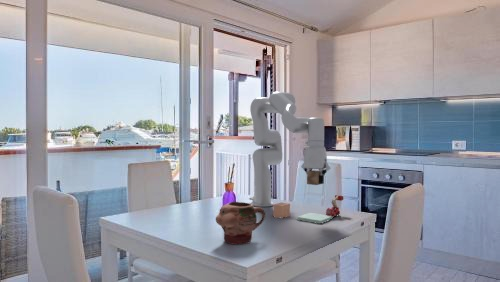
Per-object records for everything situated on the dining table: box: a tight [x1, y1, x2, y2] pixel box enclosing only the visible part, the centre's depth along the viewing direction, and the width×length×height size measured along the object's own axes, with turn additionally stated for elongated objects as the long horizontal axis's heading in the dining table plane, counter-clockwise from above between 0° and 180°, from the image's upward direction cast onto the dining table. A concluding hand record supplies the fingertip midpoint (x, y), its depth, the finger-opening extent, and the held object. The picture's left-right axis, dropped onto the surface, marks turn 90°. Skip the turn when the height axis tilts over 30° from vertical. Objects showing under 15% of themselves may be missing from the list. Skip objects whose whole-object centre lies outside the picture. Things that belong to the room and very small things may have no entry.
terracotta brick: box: [272, 202, 291, 219], centre depth 181 cm, size 5×7×6 cm
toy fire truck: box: [325, 194, 344, 218], centre depth 182 cm, size 3×14×10 cm, turn 143°
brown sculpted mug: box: [215, 201, 266, 245], centre depth 139 cm, size 20×12×14 cm, turn 121°
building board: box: [296, 212, 334, 224], centre depth 174 cm, size 12×12×2 cm
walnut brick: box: [306, 169, 325, 186], centre depth 174 cm, size 5×7×6 cm
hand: (315, 182), depth 174 cm, fingers closed on walnut brick, 5 cm apart
